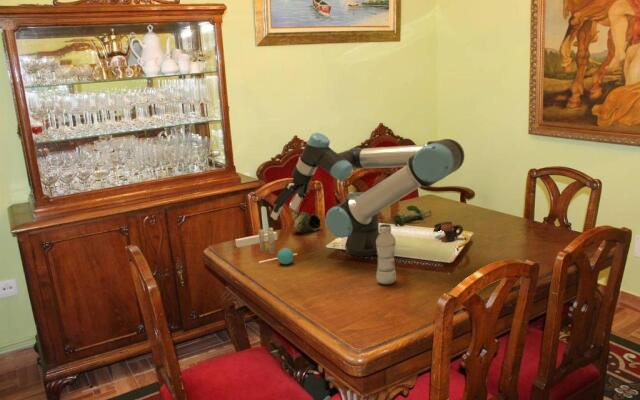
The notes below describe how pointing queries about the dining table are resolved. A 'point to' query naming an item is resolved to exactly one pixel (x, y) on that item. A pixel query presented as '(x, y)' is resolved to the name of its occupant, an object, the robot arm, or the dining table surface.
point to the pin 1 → (262, 240)
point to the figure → (410, 215)
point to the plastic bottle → (385, 255)
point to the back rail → (252, 240)
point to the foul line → (273, 259)
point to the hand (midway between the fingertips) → (283, 213)
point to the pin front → (271, 242)
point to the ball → (285, 256)
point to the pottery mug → (448, 231)
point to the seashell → (305, 222)
